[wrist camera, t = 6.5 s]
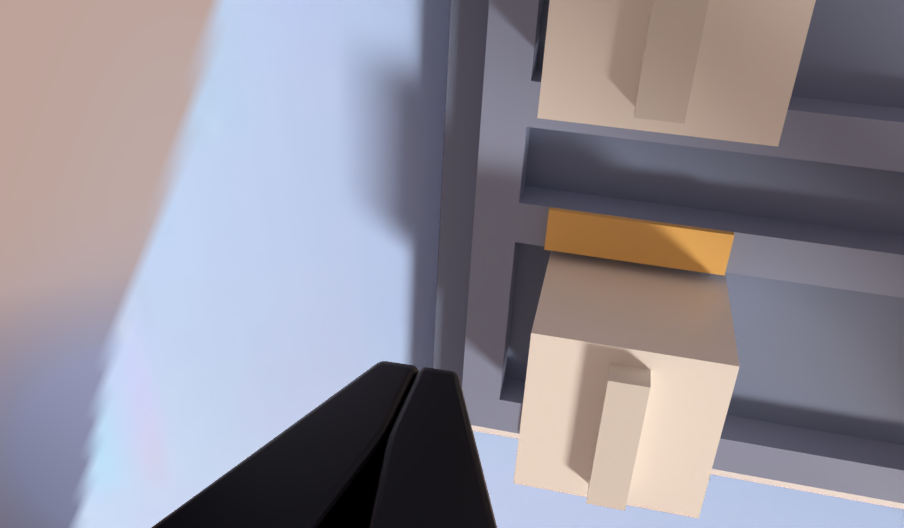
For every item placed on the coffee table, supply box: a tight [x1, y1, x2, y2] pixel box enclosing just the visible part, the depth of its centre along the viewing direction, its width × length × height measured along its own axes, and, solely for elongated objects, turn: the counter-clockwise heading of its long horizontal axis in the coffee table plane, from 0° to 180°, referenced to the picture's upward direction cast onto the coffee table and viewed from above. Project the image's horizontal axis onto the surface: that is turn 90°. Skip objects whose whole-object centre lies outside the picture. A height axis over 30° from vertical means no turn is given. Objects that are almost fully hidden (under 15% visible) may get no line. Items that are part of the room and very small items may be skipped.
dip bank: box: [433, 0, 904, 509], centre depth 18 cm, size 18×17×2 cm
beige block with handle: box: [514, 251, 740, 518], centre depth 18 cm, size 4×4×5 cm
